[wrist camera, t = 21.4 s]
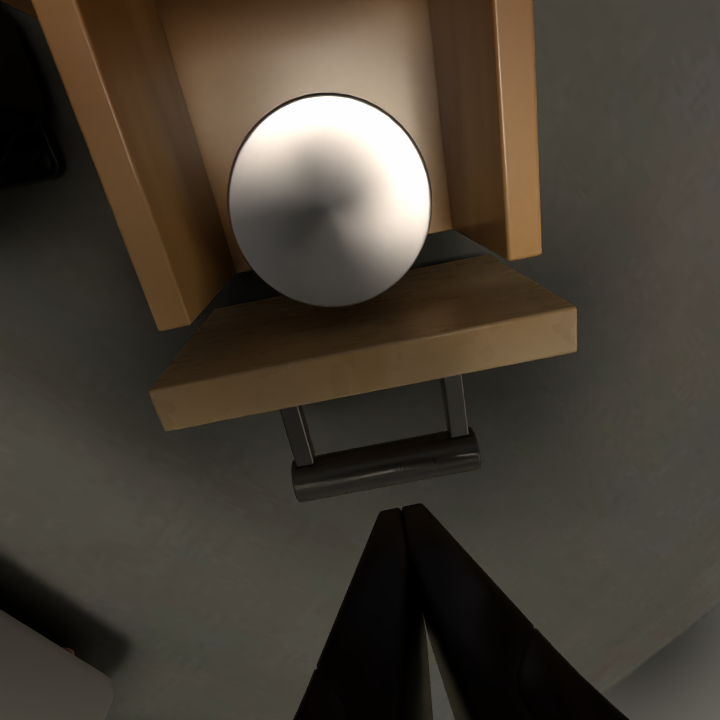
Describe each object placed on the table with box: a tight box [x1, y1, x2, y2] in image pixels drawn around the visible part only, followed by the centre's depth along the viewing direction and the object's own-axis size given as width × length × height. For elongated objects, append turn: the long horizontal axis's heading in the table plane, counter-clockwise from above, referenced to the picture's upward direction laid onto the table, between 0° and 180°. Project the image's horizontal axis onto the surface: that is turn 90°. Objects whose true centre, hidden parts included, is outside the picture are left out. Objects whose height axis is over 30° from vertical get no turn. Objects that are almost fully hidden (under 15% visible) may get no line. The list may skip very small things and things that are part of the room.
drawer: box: [31, 0, 577, 502], centre depth 13 cm, size 18×10×7 cm, turn 11°
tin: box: [227, 92, 432, 307], centre depth 13 cm, size 5×5×4 cm
